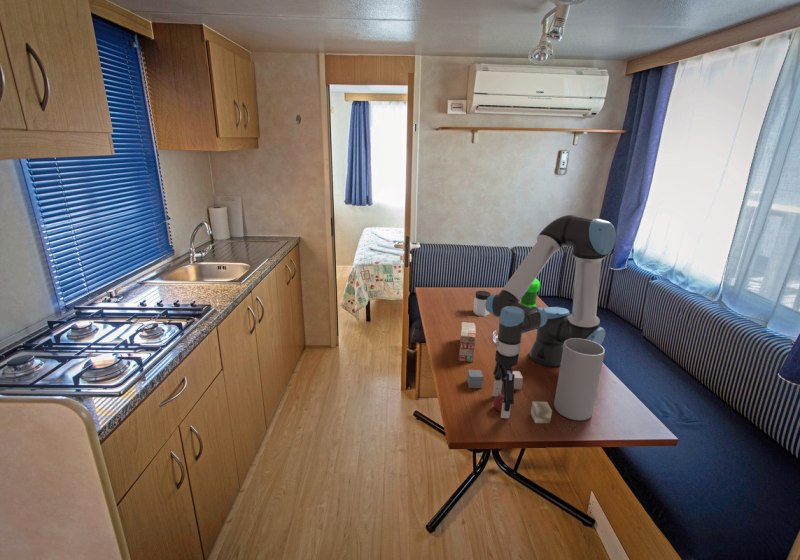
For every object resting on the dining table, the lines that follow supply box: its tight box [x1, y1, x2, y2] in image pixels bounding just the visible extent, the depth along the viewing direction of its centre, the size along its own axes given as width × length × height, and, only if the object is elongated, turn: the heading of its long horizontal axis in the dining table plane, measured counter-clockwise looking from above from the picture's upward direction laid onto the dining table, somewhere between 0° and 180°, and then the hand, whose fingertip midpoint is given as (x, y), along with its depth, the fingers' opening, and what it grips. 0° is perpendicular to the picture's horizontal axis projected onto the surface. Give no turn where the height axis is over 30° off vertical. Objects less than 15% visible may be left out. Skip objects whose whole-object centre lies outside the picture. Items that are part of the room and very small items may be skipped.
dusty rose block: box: [512, 370, 524, 390], centre depth 157 cm, size 5×5×5 cm
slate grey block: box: [466, 369, 484, 389], centre depth 157 cm, size 5×5×5 cm
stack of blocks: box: [458, 321, 477, 363], centre depth 183 cm, size 21×6×12 cm, turn 170°
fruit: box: [493, 388, 513, 413], centre depth 144 cm, size 6×6×8 cm
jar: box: [472, 290, 492, 317], centre depth 226 cm, size 9×8×12 cm
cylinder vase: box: [553, 338, 606, 421], centre depth 140 cm, size 12×12×25 cm
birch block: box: [530, 400, 553, 424], centre depth 138 cm, size 5×5×5 cm
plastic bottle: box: [519, 278, 541, 307], centre depth 226 cm, size 10×10×25 cm
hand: (500, 406), depth 145 cm, fingers open, 12 cm apart
